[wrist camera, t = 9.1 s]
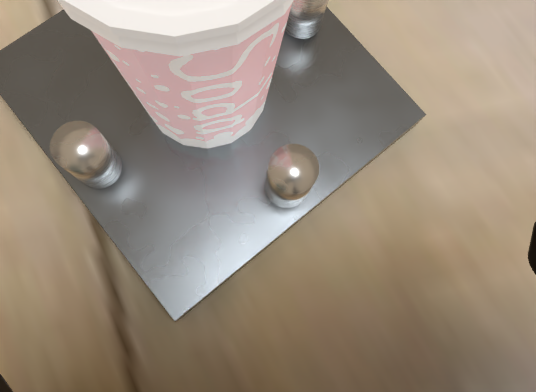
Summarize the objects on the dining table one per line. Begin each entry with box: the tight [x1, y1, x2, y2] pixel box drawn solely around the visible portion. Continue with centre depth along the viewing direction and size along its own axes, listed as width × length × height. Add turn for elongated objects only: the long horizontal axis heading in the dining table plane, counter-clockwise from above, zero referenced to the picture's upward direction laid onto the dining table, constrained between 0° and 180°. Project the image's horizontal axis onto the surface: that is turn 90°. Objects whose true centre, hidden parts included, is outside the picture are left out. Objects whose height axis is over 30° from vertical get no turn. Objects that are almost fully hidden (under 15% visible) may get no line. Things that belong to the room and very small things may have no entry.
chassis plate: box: [0, 0, 426, 321], centre depth 17 cm, size 12×12×4 cm
